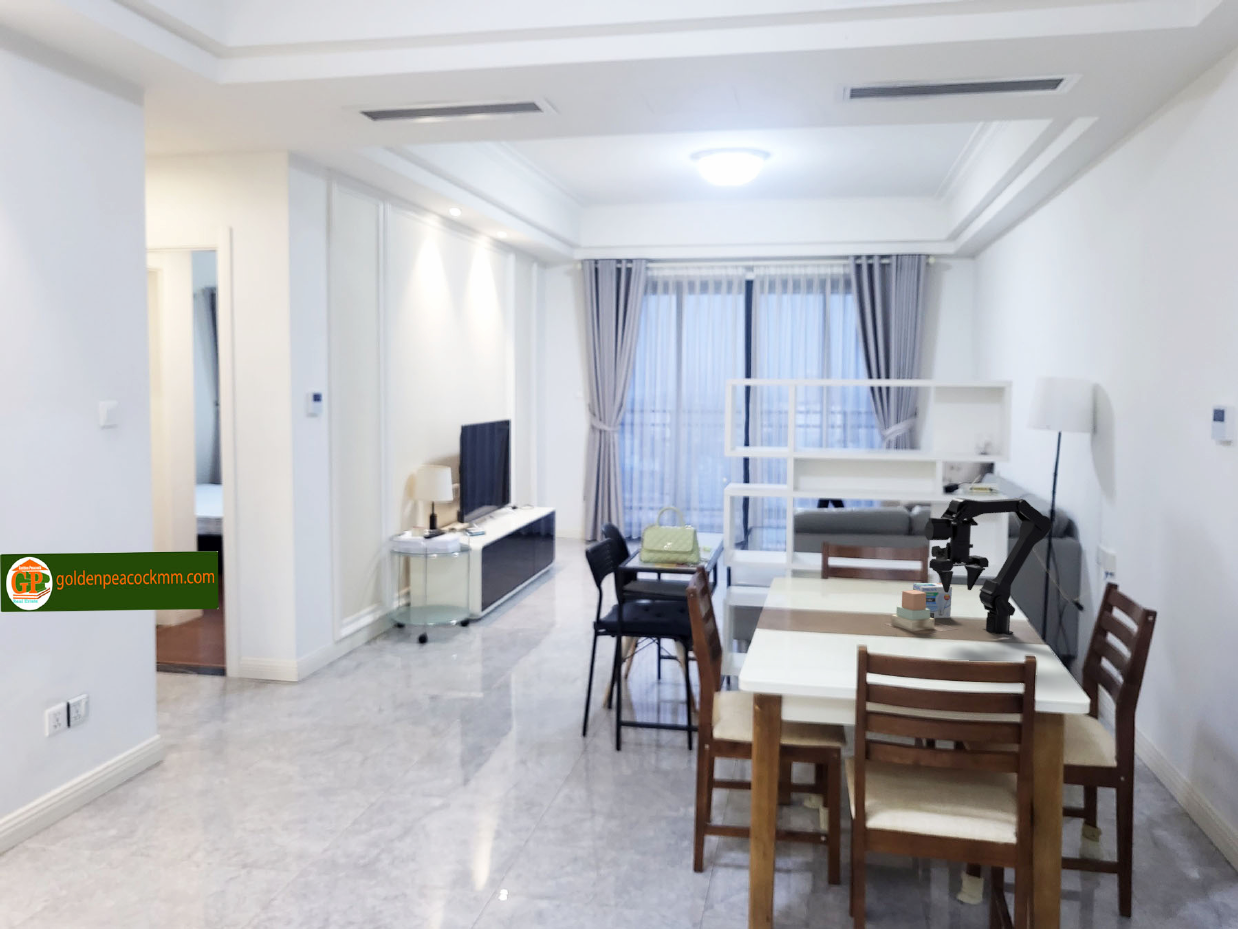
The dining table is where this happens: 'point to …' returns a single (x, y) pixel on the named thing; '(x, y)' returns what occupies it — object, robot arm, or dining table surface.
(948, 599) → the light bulb box
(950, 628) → the walnut board
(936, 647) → the dining table surface
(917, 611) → the sage block
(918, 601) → the terracotta cube
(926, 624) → the beech slab
